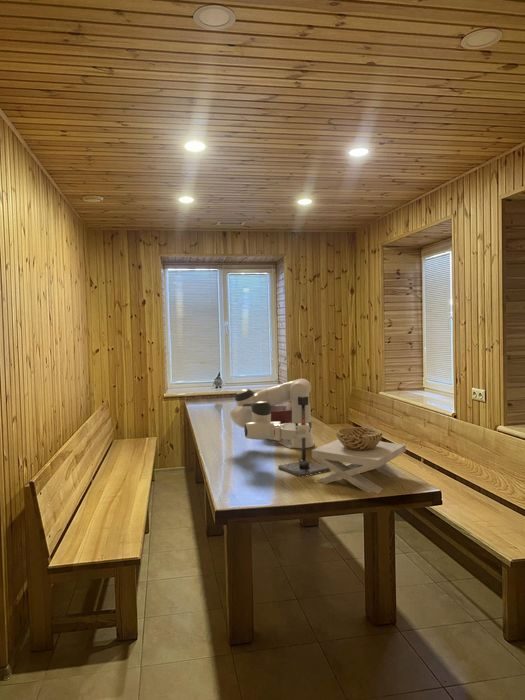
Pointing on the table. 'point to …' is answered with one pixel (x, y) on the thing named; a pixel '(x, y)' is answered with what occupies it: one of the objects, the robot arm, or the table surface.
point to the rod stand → (303, 452)
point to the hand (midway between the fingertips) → (305, 430)
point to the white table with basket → (358, 457)
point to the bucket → (281, 414)
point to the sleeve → (303, 427)
